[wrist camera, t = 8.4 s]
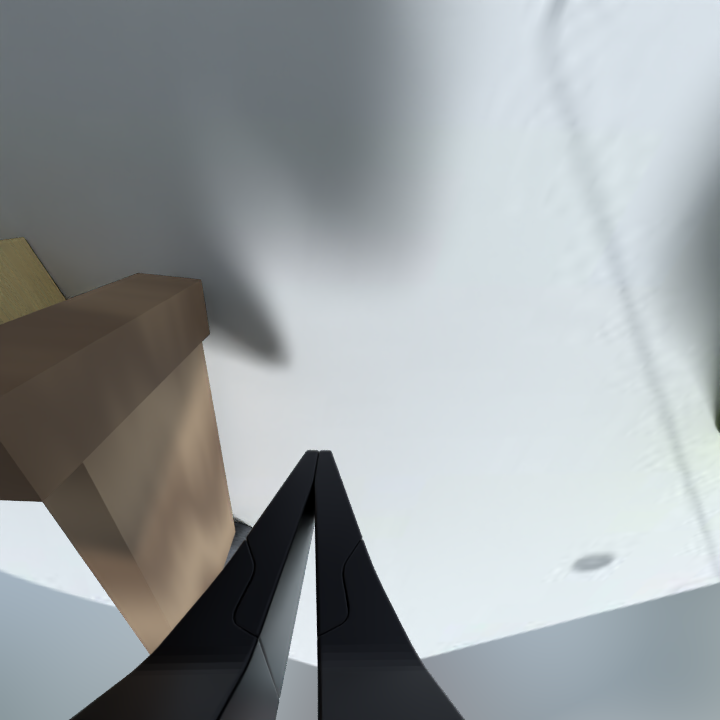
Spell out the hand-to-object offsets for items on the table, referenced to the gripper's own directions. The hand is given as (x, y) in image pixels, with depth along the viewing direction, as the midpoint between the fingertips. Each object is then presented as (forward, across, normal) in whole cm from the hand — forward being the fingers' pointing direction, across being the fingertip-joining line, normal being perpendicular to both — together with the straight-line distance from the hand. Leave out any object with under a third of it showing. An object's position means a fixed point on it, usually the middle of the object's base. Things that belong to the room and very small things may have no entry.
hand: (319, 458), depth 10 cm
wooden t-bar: (+2, +5, +1) cm, 5 cm away
